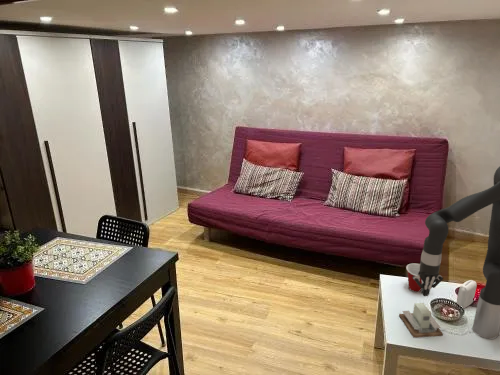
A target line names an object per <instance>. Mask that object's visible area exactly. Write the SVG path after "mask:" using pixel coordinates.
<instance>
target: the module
mask: <svg viewBox="0 0 500 375" xmlns="http://www.w3.org/2000/svg"><path fill="white" fill-rule="evenodd" d="M412 313H413V317H414V319H415V320H416V321H417V323H418V324H419V326H420V327H421V328H429V324H430V318H431V316H432V312H431V311H430V310H429V308H428V307H427V306H426V304H425V303H424V302H418V303H417V302H415V303H414V306H413V311H412Z"/></svg>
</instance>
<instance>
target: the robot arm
mask: <svg viewBox="0 0 500 375" xmlns="http://www.w3.org/2000/svg"><path fill="white" fill-rule="evenodd" d="M490 205H492V206H491V215H490V221H489V226H488V227H489V228H488V241H487V250H486V255H485V259H484V262H483V267H482V275H483V276H484V278H485V281H486V282H485V286H484V287H482V288H481V289H480V290H479V291H480V293H479V297H478V300H477V305H476V310H475V314H474V318H473V324H472V331H473V332H474V333H475V334H476V335H478V336H480V337H482V338H484V339H489V340H491V339H493V340H494V339H496V338H497V337H498V336H500V166H498V168H497V169H496V170H495V172H494V174H493V185H492V186H490V187H489V188H487V189H484V190H482V191H479V192H477V193H476V192H475V193H473V194H469V195H466V196H465V197H462V198H460V199H459V200H457V201H455V202H454V203H452V204H451V205H449V206H447V207H446V208H442V209H439V210H436V211H434V212H433V213H430V214H429V215H428V216H426V219H425V221H424V224H425V227H426V228H427V229H428V236H427V237H425V239H424V241H423V248H422V252H421V255H420V263H419V264H420V271H419V272H418V275H417V276H413V277H412V278H413V279H414V280H415V281H416V283H417V284H418V285H419V286H420V288H421V290H420V292H421V294H422V296H424V297H428V296H429V295H430V291H431V289H432V288H433V289H436V287H437V286H438V285H439V284H440V283H441V282H442V281H443V280H444V277H443V276H442V275H441V274H440V273H439V272H440V268H441V262H442V256H443V255H442V253H443V246H444V243H445V242H446V239H447V237H448V235H449V223H451V222H455V223H460V222H462V221H464V220H465V219H467V218H469V217H470V216H472V215H474V214H475V213H477V212H479V211H481V210H482V209H484V208H487V207H488V206H490ZM420 278H421V281H422V284H421V283H420V282H419V281H420Z"/></svg>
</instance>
